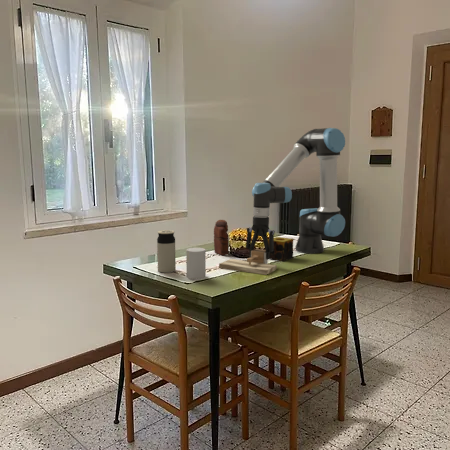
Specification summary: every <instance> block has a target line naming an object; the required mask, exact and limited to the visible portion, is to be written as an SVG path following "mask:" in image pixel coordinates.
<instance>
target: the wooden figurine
mask: <svg viewBox="0 0 450 450" xmlns="http://www.w3.org/2000/svg"><path fill="white" fill-rule="evenodd" d="M228 231H229V226H228V222H227V220H225V219H218V220H217V221H216V222H215V224H214V227H213V247H214V253H215V254H217V255H219V256H221V257H224V256H228V255H229V253H230V251H229V250H230V247H229V246H230V243H229V242H230V241H229V240H230V239H229V233H228Z"/></svg>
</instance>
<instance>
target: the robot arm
mask: <svg viewBox="0 0 450 450" xmlns="http://www.w3.org/2000/svg"><path fill="white" fill-rule="evenodd" d="M345 145H346V137H345V135H344V133H343V132H342V131H341V130H340V129H339V128H338V127H337V128H335V127H328V128H327V127H325V128H313V129H311V130H308V131H307V132H306V133H305V134H303V135H302V136H301V137H300V138H299V139H298V140H297V141H296V142H295V143H294V144H293V148H292V150H291V151H289V153H288V154H287V155H286V156H285V157H284V159H282V160H281V161H280V163H279V164H278V165H277V166H276V167H275V168H274V169H273V170H272V172H270V174H268V176H267V177H266V178H265V180H263V181H262V182H256V183H255V184H254V186H253V188H252V189H251V194H252V196H253V209H252V215H253V217H252V226H251V227H246V244H245V248H246V249H248V250H249V255H248V256H249V258H250V257H251V256H252V251H253V250H255V246H256V244H257V240H258V237H261V239H262V241H263V246H264V250H265V251H266V252H264V263H265V264H269V263H268V260H270V259H269V257H270V252H272V251H274V238H275V236H274V235H275V230H272V229H270V227H269V225H270V217H269V216H270V205H271V204H284V203H289V202H291V200H292V198H293V195H292V194H293V192H292V190H291V188H290V187H288V186H281V185H282V184H283V183H284V182H285V181H286V179H287V178H288V177H289V176H290V175H291V174H292V173H293V171H294V170H296V169H297V167H298V166H299V165H300V164H301V163H302V162H303V160H304V159H307V158H309V157H310V156H311V155H312V154H314V153H316V154H315V155H316V157H317V159H318V160H319V207H318V208H317V207H315V208H304V209H303V208H302V209H301V210H300V211H299V220H298V221H299V223H298V224H299V226H298V227H299V228H298V231H299V233H298V238H297V241H296V244H295V251H296V252H298V253H301V254H321V253H323V252H324V251H325V248H324V247H325V246H324V243H323V240H322V235H324V236H327V237H337V236H339V235H341V234H342V232H343V231H344V229H345V227H346V219H345V217H344V216H343V215H342V214H341V208H340V207H338V158H339V157H340V156H341V152H342V151H343V150H344V148H345ZM252 232H253V233H252ZM267 234H268V235H267ZM252 235H253V236H252ZM268 239H269V243H268Z"/></svg>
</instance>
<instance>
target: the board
mask: <svg viewBox="0 0 450 450" xmlns="http://www.w3.org/2000/svg"><path fill="white" fill-rule="evenodd" d="M277 267H278V266H277V264H272V263H267V264H265V263H257V262H251V265H249V262H247V260H241V259H233V258H230V259H227V260H224V261H222V262H220V263H219V264H218V269H225V270H230V271H237V272H245V273H251V274H258V275H265V276H267V274H268V275H270V274H271V273H273V272H274V271H276V270H277Z"/></svg>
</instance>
